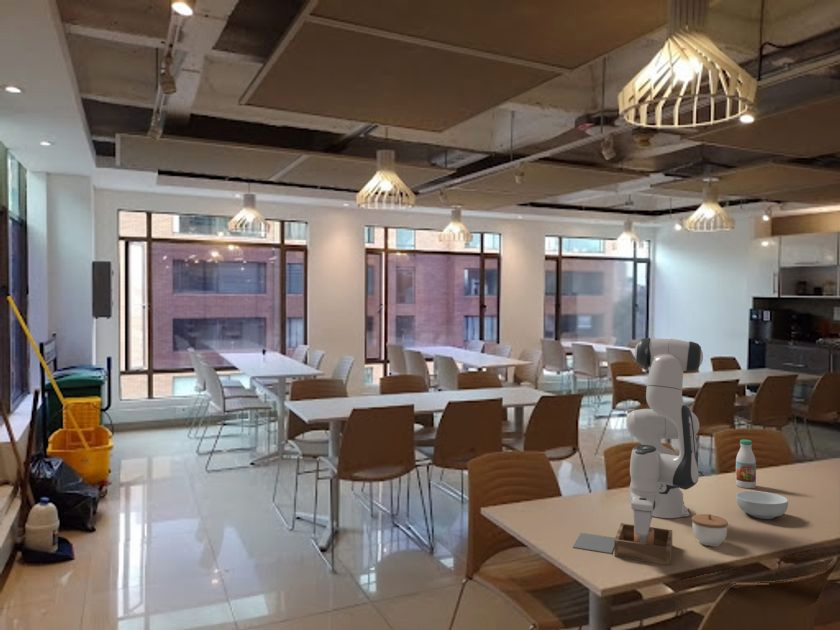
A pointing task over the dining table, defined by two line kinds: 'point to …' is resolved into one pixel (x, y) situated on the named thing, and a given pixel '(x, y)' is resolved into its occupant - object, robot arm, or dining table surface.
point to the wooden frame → (643, 545)
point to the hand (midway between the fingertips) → (644, 540)
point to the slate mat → (595, 543)
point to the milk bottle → (745, 465)
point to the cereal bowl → (762, 504)
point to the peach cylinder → (648, 538)
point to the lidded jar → (709, 529)
